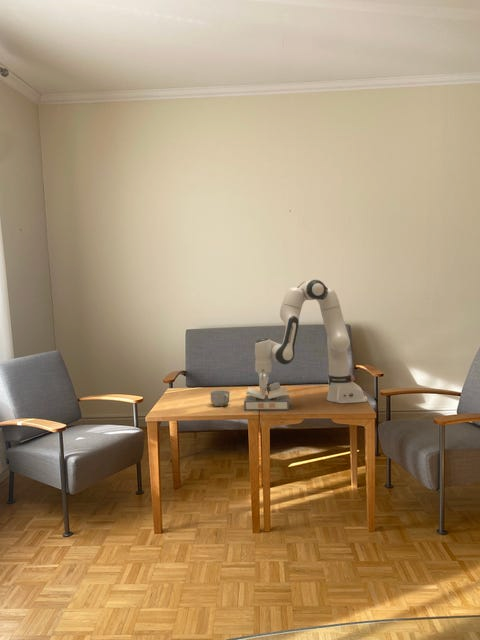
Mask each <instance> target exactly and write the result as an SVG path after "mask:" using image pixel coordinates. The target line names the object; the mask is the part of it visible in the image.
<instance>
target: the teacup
mask: <svg viewBox="0 0 480 640" xmlns="http://www.w3.org/2000/svg"><path fill="white" fill-rule="evenodd" d="M209 392H210V393H209V394H210V402H211V404H212V405H213V406H215V407H225V406H227V404H229V402H230V391H229V390H223V389H215V390H211V391H209Z"/></svg>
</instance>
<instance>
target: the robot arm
mask: <svg viewBox="0 0 480 640" xmlns="http://www.w3.org/2000/svg"><path fill="white" fill-rule="evenodd" d="M305 301H317V303H318V305H319V309H320V313H321V317H322V321H323V322H322V323H323V325H324V328H325V331H326V334H327V337H326V338H327V339H326V341H327V356H328V377H327V381H328V383H327V384H328V390H327V391H328V393H327V397H326V400H327V401H329V402H332V403H337V404H351V403H366V402H367V401H368V397H367V396H366V395H364V391H363V389H362V387H360V385H358V384H357V383H355V382H354V380H355V378H354V376H352V375H351V374H350V370H349V369H350V365H349V364H350V361H349V355H348V349H349V348H350V345H351V340H350V337H349V333H348V330H347V329H348V328H347V326H346V323H345V320H344V316H343V313H342V309H341V308H342V307H341V304H340V300H339V297H338V295H337V293H336V291H335V289H333V288H330V287H327V286H326V285H325V284H324V282H323V281H321V280H319V279H309V280H307V281H302V283H300V284H299V285H298V286H297V287H296V286H293V287H290V288H288V290H287V291H286V293H285V295H284V297H283V300H282V303H281V305H280V309H279V317H280V319H281V320H282V322H283V324H284V325H285V331H284V337H283V341H282V343H278V342H275V341H273V340H271V339H270V338H269V337H264V338H259V339H257V340H256V341H255V345H254V357H255V361H254V366H255V367H254V370H255V372H256V373H257V375H258V377H259V379H258V386H259V390H261V391H262V396H265V392H266V393H267V388H266V387H267V386H268V383H269V379H270V378H269V376H270V373H271V372H272V369H273V367H272V361H275V362H278V363H280V364H281V365H289V364H290V363H292V361H294V359H295V353H296V352H295V345H296V340H297V335H298V329H299V325H300V323H299V322H300V314H301V312H302V308H303V305H304V302H305Z"/></svg>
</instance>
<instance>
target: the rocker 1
mask: <svg viewBox="0 0 480 640" xmlns="http://www.w3.org/2000/svg"><path fill="white" fill-rule="evenodd" d="M266 393H267V391H266V392H265V395H267V394H266ZM246 395H251V396H254V397H258V398H261V399H264V398H265V396H262V391H261V389H257V388H253V387H250V386H248V388H247V391H246Z"/></svg>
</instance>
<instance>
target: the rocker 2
mask: <svg viewBox="0 0 480 640" xmlns="http://www.w3.org/2000/svg"><path fill="white" fill-rule="evenodd" d="M287 393H288V388H287V386H284V387H281V388H280V389H277V390H273V391H270V392H269V394H268V393H267V395H268V398H269V399H271V398H274V397H278V396H281V395H288V394H287Z"/></svg>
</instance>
